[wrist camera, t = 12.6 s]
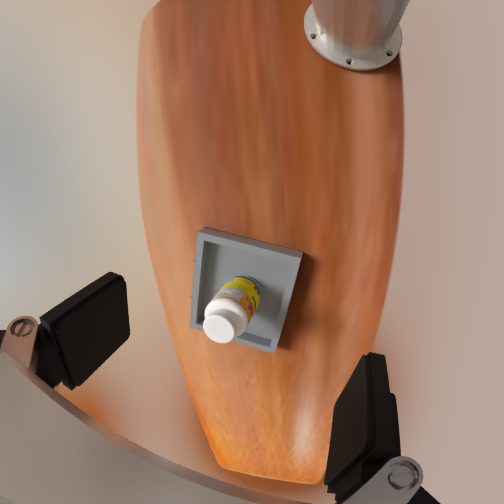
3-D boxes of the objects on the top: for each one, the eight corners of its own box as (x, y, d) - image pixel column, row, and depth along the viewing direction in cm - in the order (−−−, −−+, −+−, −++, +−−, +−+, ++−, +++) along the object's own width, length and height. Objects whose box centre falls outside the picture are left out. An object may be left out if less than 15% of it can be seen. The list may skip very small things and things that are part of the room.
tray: (205, 227, 40) (197, 231, 38) (303, 251, 37) (301, 258, 35) (196, 318, 46) (190, 326, 44) (277, 344, 43) (274, 353, 41)
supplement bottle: (257, 312, 42) (236, 355, 32) (223, 300, 43) (193, 338, 33) (267, 280, 39) (245, 320, 30) (229, 268, 40) (199, 302, 31)
